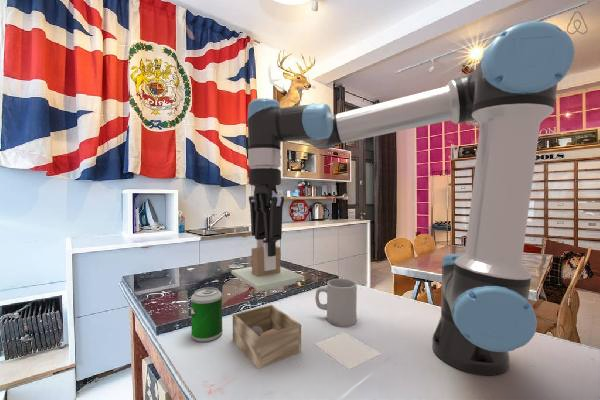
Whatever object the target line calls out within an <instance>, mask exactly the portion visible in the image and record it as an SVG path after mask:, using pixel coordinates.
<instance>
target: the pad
mask: <svg viewBox="0 0 600 400" xmlns="http://www.w3.org/2000/svg"><path fill="white" fill-rule="evenodd" d="M314 345H315V346H316V347H318V349H320V350H321V351H322V352H324V353H326V354H327V355H328V356H330V357H331V358H333V359H334V360H335V361H337V362H338V363H339V364H341V365H342V366H344V367H345V368H346V369H348V370H351V369H353V368H355V367H357V366H358V367H359V365H362V364H363V363H365V362H368V361H370V360H372V359H374V358H376V357H377V356H380V355H381V352H379V351H377V350H376V349H373V348H372V347H370V346H368V345H367V344H365V343H363V342H362V341H360V340H358V339H356V338H355V337H353V336H351V335H350V334H348V333H346V332H342V333H339V334H336V335H334V336H332V337H328V338H327V339H324V340H322V341H321V340H320V341H318V342H316V343H314Z"/></svg>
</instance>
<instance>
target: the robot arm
mask: <svg viewBox="0 0 600 400" xmlns="http://www.w3.org/2000/svg"><path fill="white" fill-rule="evenodd" d="M574 59H575V47H574V42H573V40H572V38H571V36H570V35H569V34H568V33H567V32H566V31H565V30H563V29H561V28H560V27H559V26H558V25H556V24H553V23H550V22H546V21H539V20H538V21H537V20H534V21H533V20H532V21H526V22H520V23H518V24H515V25H513V26H511V27H508V28H507V29H505V30H504V31H502V32H501V33H499V34H498V35H497V36H496V37H495V38H494V39H493V40H492V42H491V43H490V44H489V45H488V46H487V47H486V48H485V49H484V51H483V54H482V57H481V59H480V61H479V63H478V64H477V66H476V68H475V70H473V71H471V72H469V73H468V74H466V75H463V76H461V77H457V78H454V79H451V80H449V81H448V83H447V84H446V85H445V86H442V87H438V88H434V89H430V90H425V91H422V92H418V93H414V94H410V95H406V96H402V97H401V96H400V97H398V98H393V99H391V100H386V101H381V102H378V103H373V104H371V105H366V106H362V107H359V108H354V109H351V110H347V111H343V112H339V113H335V114H333V112H332V110H331V107H330V105H328V104H327V103H314V102H313V103H308V104H304V105H295V106H286V107H281V104H280V102H279V101H278V100H276V99H273V98H269V97H268V98H267V97H266V98H260V97H259V98H255V99H252V100H251V101H250V102H249V103H248V107H247V108H248V109H247V119H246V123H247V136H248V138H247V140H248V147H247V154H248V155H247V163H248V165H247V166H248V167H249V168H250V169H249V170H248V184H249V186H254V190H253V195H250V196H248V202H249V208H250V209H249V211H250V225H251V226H250V228H251V236H252V237H253V236H254V239H255V240H256V242H255V243H256V248H259V247H264V271H269V270H274V269H276V246H277V244H276V243H277V242H278V241H280V240H282V233H283V227H282V226H283V207H284V202H285V197H284V196H279V195H278V190H277V186H280V185H281V184H282V170H281V169H279V168H280V167H281V166H282V165H281V164H282V163H281V158H282V156H281V155H282V154H281V148H282V147H281V144H282V142H305V143H306V144H309V145H311V146H312V147H313V148H316V149H318V150H329V149H331V148H333V147H334V146H337V145H340V144H344V143H350V142H353V141H358V140H364V139H368V138H372V137H378V136H383V135H386V134H387V135H388V134H391V133H392V134H393V133H397V132H403V131H406V130H411V129H415V128H420V127H424V126H430V125H434V124H439V123H445V122H449V121H450V122H452V123H453V124H456V125H457V124H460V123H466V122H472V121H476V122H477V123H478V125H479V132H478V141H477V142H478V143H477V149H476V158H475V165H474V173H473V174H474V175H473V184H472V189H471V197H470V198H471V200H470V207H469V208H470V209H469V217H468V226H467V234H466V242H465V249H464V253H463V254H462V253H448V254H445V255H444V256H443V257H442V261H441V265H440V268H441V298H440V299H441V300H440V301H441V303H440V308H441V309H440V310H441V311H440V317H439V321H438V323H437V326H436V328H435V330H434V333H433V336H432V341H431V342H432V351H433V352H434V355H435V356H437V357H438V359H440V360H441V361H442V362H445V363H446V364H448V365H449V366H452V367H453V368H456V369H458V370H461V371H463V372H467V373H471V374H475V375H482V376H497V375H502V374H504V373H506V372H507V371H508V370H509V368H510V353H509V352H513V351H515V350H516V349H517V350H518V349H520V348H522V347H524V346H526V345H527V344H528V343H530V341H532V339H533V338H534V336H535V334H536V331H537V327H538V321H537V315H536V313H535V309H534V307H533V306H532V304H531V302H529V297H530V289H531V280H532V274H531V273H530V272H529V271H530V270H529V271H528V269H527V268H526V267H525V266H524V265H523V263H522V262H523V255H524V248H525V247H524V246H525V241H526V233H527V227H528V226H527V225H528V217H529V211H530V203H531V195H532V187H533V179H534V173H535V165H536V157H537V150H538V149H537V148H538V143H539V142H538V141H539V137H540V136H539V135H540V127H541V123H542V122H543V121H544V120H546V119H547V118H548V117H549V116H550V115H552V114H553V113H554V112H555V111H554V110H555V104H556V99H557V91H558V90H557V89H558V83H559V82H561V81H562V80H564V78H566V75H567V74H568V72H569V71H570V69H571V67H572V65H573V62H574Z"/></svg>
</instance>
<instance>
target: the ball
mask: <svg viewBox="0 0 600 400" xmlns="http://www.w3.org/2000/svg"><path fill="white" fill-rule="evenodd" d="M252 330H253V331H254V332H255V333H256V334H257V335H258V336H259V334H261V333H264V332H263V330H262V328H261V327H258V326H255V327H253V328H252Z"/></svg>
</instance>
